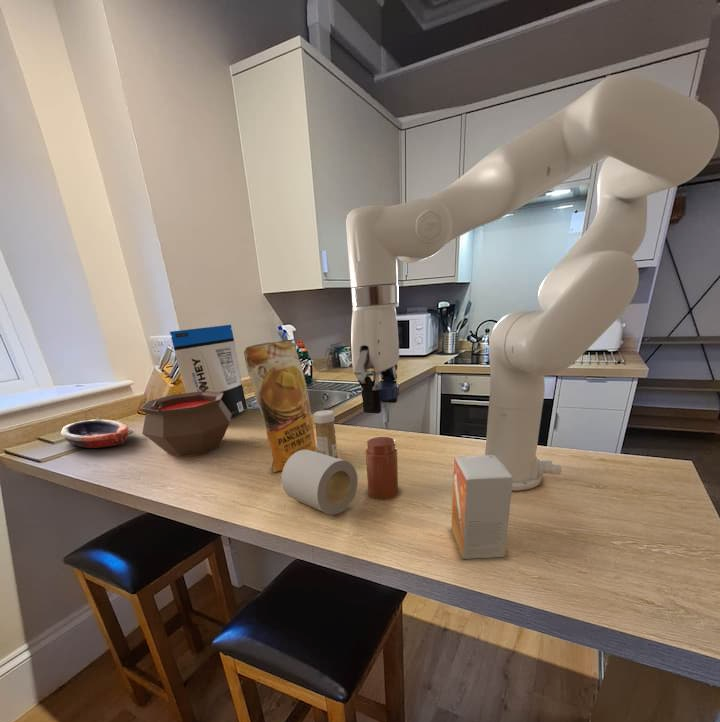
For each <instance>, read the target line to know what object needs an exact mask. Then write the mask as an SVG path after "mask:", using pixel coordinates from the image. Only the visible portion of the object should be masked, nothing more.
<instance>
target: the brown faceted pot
mask: <svg viewBox="0 0 720 722" xmlns="http://www.w3.org/2000/svg"><path fill="white" fill-rule="evenodd" d="M201 386H203V387H204V389H202V388H201ZM198 388H199V389H200V390H201V392H191V393H186V392H184V393H183V392H182V393H174V394H170V395H166V396H163V397H158V398H154V399H150V400H147V401H145V403H144V404H142V405H141V406H140V407H139V408H138V409H139V410H141V411H142V412H143V413H145V416H144V421H143V427H142V435H144V436H145V437H146V438H147V439H149V440H150V441H151V442H153V443H154V444H155V445H156V446H158V447H159V448H160V449H161V450H163V451H164V452H166V453H167V454H168V455H171V456H176V457H181V458H183V457H184V458H185V457H191V456H199V455H204V454H206V453H209V452H212V451H214V450H216V449H218V448H220V446H221V444H222V441H223V439H224V437H225V435H226V432H227V430H228V428H229V426H230V423H231V419H232V418H231V416H232V414H231V413H230V411H229V410H228V408H227V407H226V406H225V404H224V403H223V401H222V400H221V398H222V396H223V393H220V392H209V391H205V390H206V389H207V386H205V385H204V384H203V383H202V382H201V383H200V385H199V386H198Z"/></svg>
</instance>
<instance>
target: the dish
mask: <svg viewBox="0 0 720 722" xmlns="http://www.w3.org/2000/svg"><path fill="white" fill-rule="evenodd" d="M60 434H61V436H62V437H63V438H64V439H65V440H66V441H67V442H68V443H70V444H71V445H73V446H77V447H81V448H84V449H85V448H86V449H99V448H109V447H114V446H119V445H121V444H123V443H125V442H126V440H127V438H128V434H129V426H128V425H126V424H125V423H124V422H120V421H118V420H117V421H116V420H112V419H111V420H109V419H102V418H100V417H96V419H89V420H88V419H86V420H79V421H76V422H75V421H74V422H72V423H69V424H67V425H65V426H63V427H62V428H61V430H60Z"/></svg>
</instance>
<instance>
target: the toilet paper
mask: <svg viewBox="0 0 720 722" xmlns="http://www.w3.org/2000/svg"><path fill="white" fill-rule="evenodd" d="M358 479H359V478H358V473H357V470H356V468H355V466H354V465H353V464H352V463H351V462H350V461H347V460H344V459H342V458H334V457H331V456H328V455H324V454H321V453H318V451H316V452H314V451H311V450H300V451H298V452H296V453H294V454H293V455H292V456H291V457H290V458H289V459H288V460H287V462H286V464H285V466H284V468H283V471H282V472H281V487H282V490H283V492H284V493H285V495H286V496H287V497H289V498H290V499H292V500H295V501H297V502H300V503H302V504H304V505H305V506H306V505H307V506H308V507H311V508H313V509H316V510H318V511H320V512H323V513H325V514H327V515H331V516H333V515H338V514H340V513H342V512H344V511H345V510H346V509H347V508H348V507H349V506H350V504H351V503H352V502H353V500H354V498H355V496H356V492H357V490H358V489H357V488H358Z"/></svg>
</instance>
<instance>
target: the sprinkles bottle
mask: <svg viewBox="0 0 720 722" xmlns="http://www.w3.org/2000/svg"><path fill="white" fill-rule="evenodd" d="M312 418H313V419H312V420H313V423H314V427H315V438H316V449H317V453H321V454H324V455H328V456H331V457H334V458H338V457H339V456H338V447H337V438H336V430H335V413H334V411H333V410H327V409H324V410H318V411H315V412H314V413H313V414H312ZM338 459H339V458H338Z"/></svg>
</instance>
